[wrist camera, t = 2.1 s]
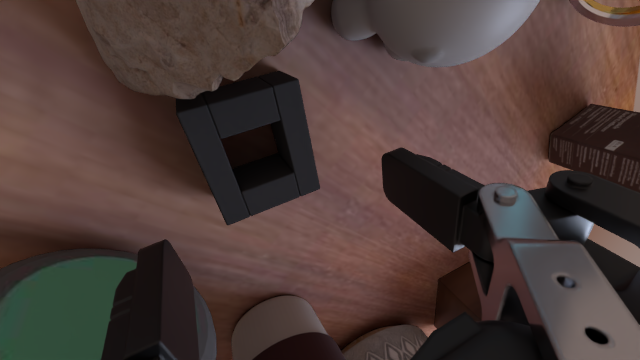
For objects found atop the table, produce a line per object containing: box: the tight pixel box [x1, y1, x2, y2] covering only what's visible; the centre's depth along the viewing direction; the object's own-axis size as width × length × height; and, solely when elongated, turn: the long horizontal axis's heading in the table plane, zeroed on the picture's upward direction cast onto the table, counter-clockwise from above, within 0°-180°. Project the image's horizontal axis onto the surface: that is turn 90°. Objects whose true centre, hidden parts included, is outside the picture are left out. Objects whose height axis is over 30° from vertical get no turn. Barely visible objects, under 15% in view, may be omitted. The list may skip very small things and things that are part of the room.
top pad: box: [176, 71, 320, 225], centre depth 16 cm, size 6×6×3 cm
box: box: [549, 104, 640, 193], centre depth 26 cm, size 6×4×12 cm
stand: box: [434, 262, 482, 329], centre depth 35 cm, size 10×10×8 cm
